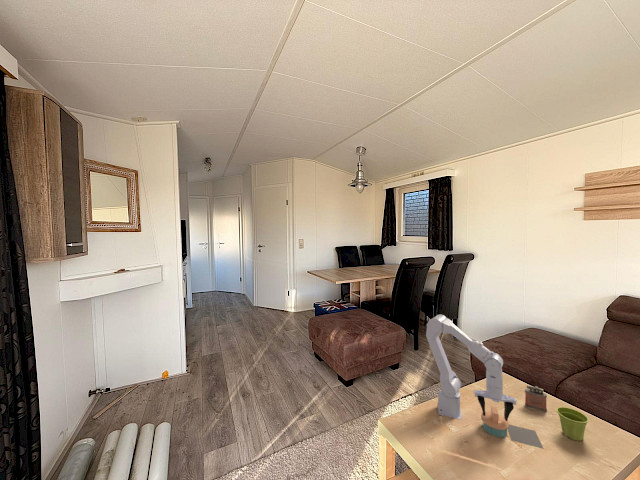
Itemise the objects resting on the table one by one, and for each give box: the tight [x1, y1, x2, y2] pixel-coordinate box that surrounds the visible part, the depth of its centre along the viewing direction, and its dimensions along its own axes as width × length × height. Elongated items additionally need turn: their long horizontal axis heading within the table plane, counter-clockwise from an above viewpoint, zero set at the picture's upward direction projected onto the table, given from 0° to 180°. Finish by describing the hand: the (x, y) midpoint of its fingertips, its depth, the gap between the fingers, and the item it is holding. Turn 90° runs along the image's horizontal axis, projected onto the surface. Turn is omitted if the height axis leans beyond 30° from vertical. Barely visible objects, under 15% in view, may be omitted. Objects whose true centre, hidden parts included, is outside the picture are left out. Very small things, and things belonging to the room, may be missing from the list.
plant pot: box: [556, 406, 590, 442], centre depth 106 cm, size 9×9×9 cm
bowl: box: [482, 421, 508, 438], centre depth 109 cm, size 8×8×4 cm
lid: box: [480, 405, 510, 430], centre depth 109 cm, size 10×10×5 cm
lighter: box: [524, 384, 548, 413], centre depth 123 cm, size 8×3×10 cm, turn 58°
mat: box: [507, 424, 545, 449], centre depth 106 cm, size 10×10×1 cm
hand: (494, 416), depth 109 cm, fingers open, 7 cm apart
